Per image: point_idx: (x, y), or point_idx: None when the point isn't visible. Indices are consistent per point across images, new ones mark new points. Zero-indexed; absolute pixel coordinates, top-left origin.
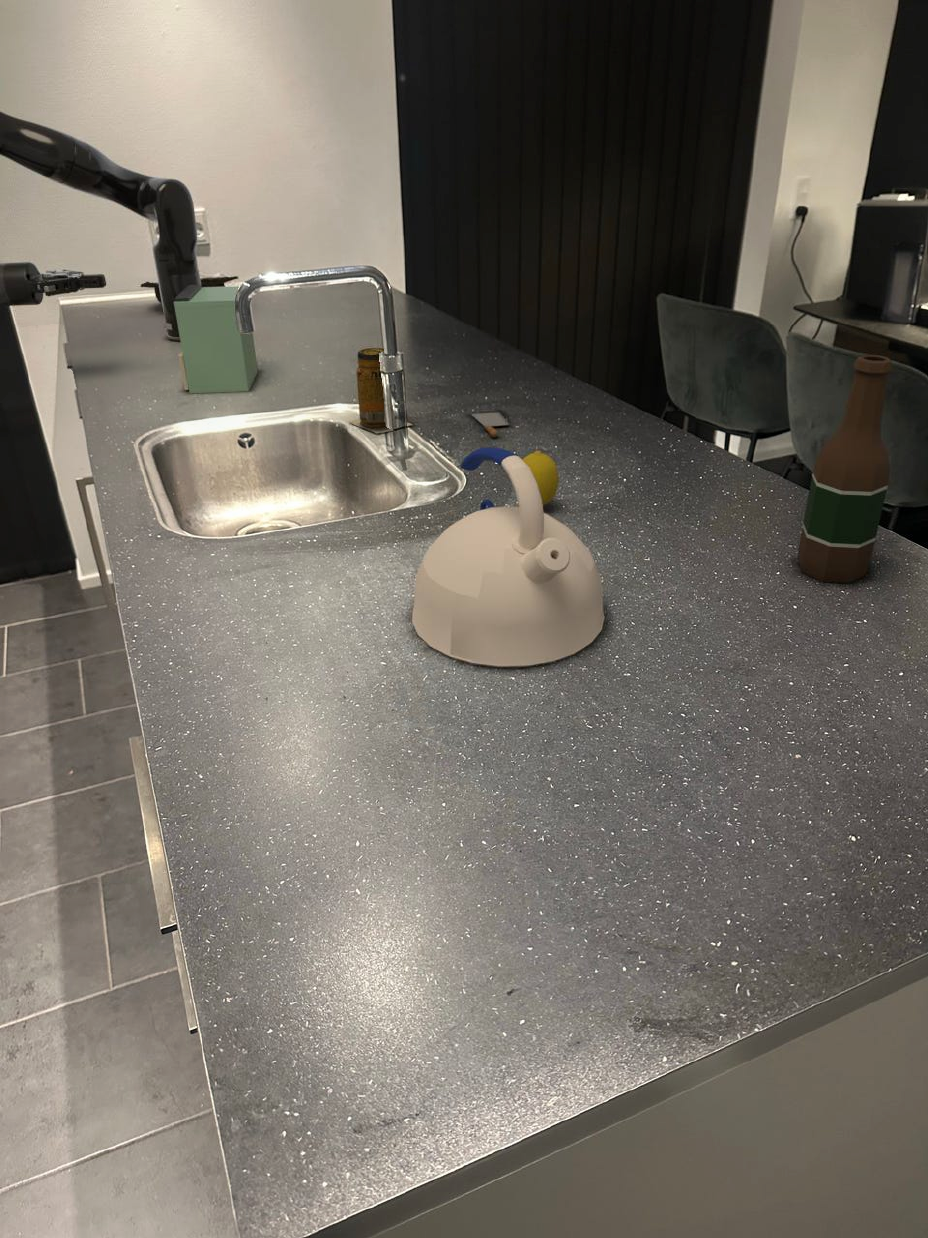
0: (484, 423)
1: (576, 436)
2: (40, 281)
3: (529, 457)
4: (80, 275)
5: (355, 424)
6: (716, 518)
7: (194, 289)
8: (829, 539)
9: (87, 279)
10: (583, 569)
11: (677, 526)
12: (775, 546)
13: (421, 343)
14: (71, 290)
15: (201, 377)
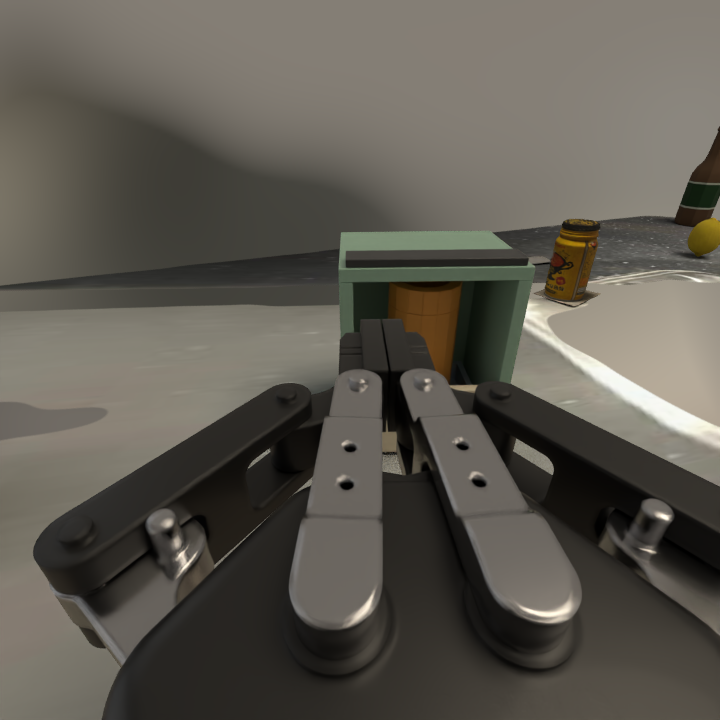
0: (543, 261)
1: (547, 245)
2: (708, 628)
3: (718, 222)
4: (409, 374)
5: (578, 303)
6: (655, 231)
7: (413, 251)
8: (715, 205)
9: (431, 365)
10: None
11: (677, 236)
12: (677, 227)
13: (245, 282)
14: (523, 463)
15: None
